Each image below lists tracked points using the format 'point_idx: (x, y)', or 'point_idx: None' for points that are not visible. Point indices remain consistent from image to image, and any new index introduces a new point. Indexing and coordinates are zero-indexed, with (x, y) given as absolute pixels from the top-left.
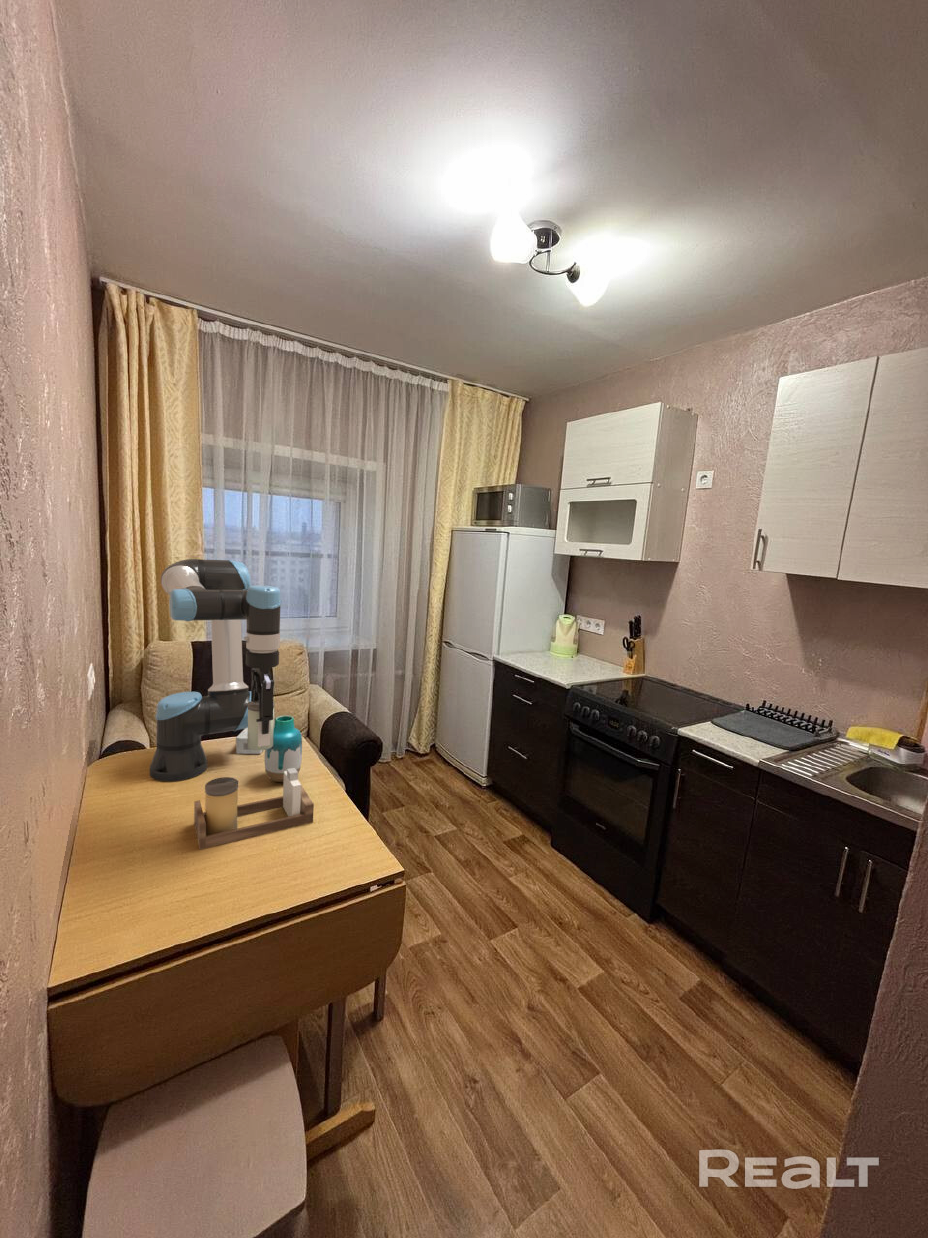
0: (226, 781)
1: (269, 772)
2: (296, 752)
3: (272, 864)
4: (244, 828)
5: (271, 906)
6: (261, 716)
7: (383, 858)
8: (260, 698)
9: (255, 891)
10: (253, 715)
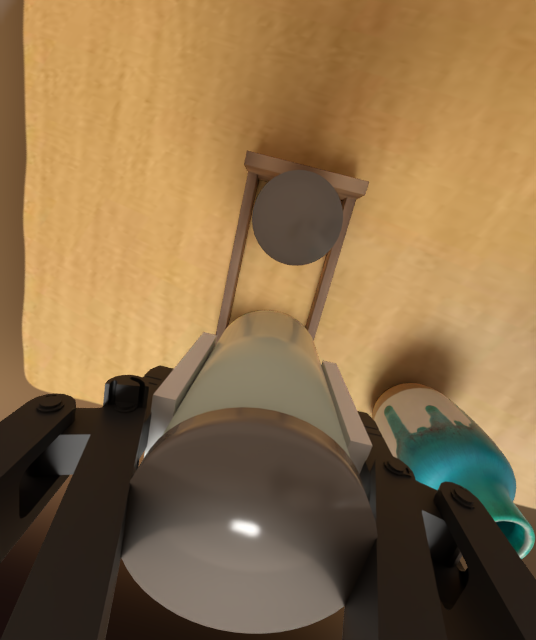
0: (304, 237)
1: (408, 388)
2: None
3: (132, 253)
4: (235, 250)
5: (30, 202)
6: (54, 418)
7: (54, 392)
8: (14, 612)
9: (78, 197)
10: (198, 398)
